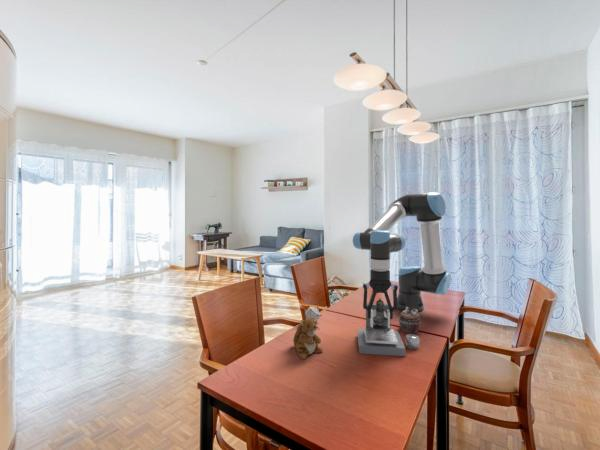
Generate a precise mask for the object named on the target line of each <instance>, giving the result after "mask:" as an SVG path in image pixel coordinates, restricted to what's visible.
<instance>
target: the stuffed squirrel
mask: <svg viewBox="0 0 600 450" xmlns="http://www.w3.org/2000/svg"><path fill="white" fill-rule="evenodd" d="M299 321H300V322H299V324H298V326H297V328H296V332H295V333H294V336H293V340H292V341H293V346H294V347H295V348H296V349H295V350H296V353H297V355H298V357H299V358H300V359H302V360H305V359H306V358H307V357H308V356H309V355H311V354H313V353H316V354H319V353H323V351H324V350H323V348H321V346H319V344H321V343H322V340H321V338H320V337H319V336H318V334H316V333H315V332H316V331H319V330H320V328H319V327H318V326H317V324H316V323H315V322H314V318H312V319H311V318H309V319H306V318H305V319H300V320H299Z"/></svg>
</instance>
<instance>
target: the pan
mask: <svg viewBox="0 0 600 450" xmlns="http://www.w3.org/2000/svg"><path fill="white" fill-rule="evenodd" d="M363 329H364V334H365V341H366V343H382V344H398V340H397V338H396V335H395V333H394V331H395V330H394V329H392V328H391V329H385V330H377V329H375V328H366V327H363Z"/></svg>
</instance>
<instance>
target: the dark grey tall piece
mask: <svg viewBox="0 0 600 450" xmlns="http://www.w3.org/2000/svg"><path fill="white" fill-rule="evenodd" d="M375 303H376V316H375V317H373V321H374V323H375V324H376V325H374V326H373V327H374V328H375V329H377V330H385V329H387V327H386V326H385V324H386V323H387V320H388V319H387V318H386V317H384V310H385V309H384V304H385V302H384V300H382V299H381V297H379V299H378V300H376V302H375Z"/></svg>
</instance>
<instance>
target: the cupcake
mask: <svg viewBox="0 0 600 450" xmlns="http://www.w3.org/2000/svg"><path fill="white" fill-rule="evenodd" d="M405 309H406V310H402V312H400V315H399V317H398V322H399V327H400V330H401V331H402V332H404V333H409V334H415V333H418V332H419V330H420V325H421V321H422V319H421V317H420V315H421V314H419V311H418V310H417V308H410V307H406V308H405Z"/></svg>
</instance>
